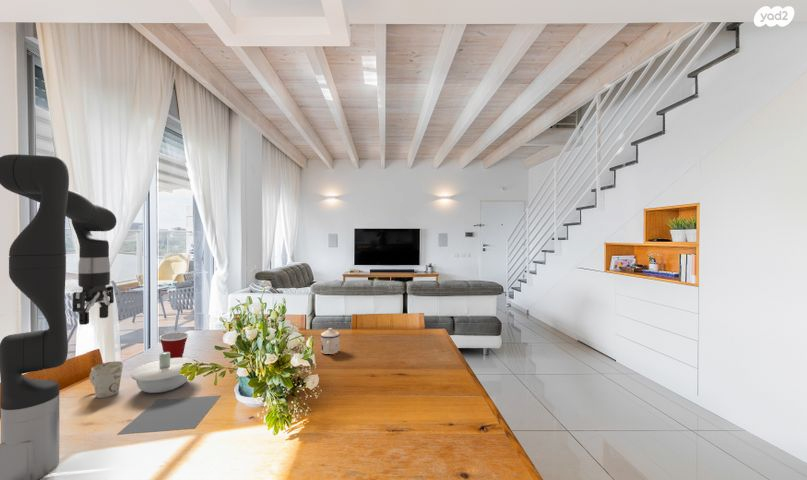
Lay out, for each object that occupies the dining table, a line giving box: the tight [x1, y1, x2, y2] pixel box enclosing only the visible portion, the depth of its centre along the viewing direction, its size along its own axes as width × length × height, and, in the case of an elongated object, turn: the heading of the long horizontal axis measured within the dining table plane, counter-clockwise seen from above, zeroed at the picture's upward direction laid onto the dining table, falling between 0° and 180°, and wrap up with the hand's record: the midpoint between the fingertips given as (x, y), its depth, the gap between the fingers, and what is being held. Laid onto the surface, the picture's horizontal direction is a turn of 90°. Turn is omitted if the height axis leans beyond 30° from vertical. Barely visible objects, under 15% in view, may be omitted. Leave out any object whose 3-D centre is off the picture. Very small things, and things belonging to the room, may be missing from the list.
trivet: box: [116, 395, 221, 435], centre depth 105 cm, size 20×20×1 cm
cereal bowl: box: [135, 375, 189, 394], centre depth 122 cm, size 17×17×7 cm
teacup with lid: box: [320, 327, 341, 354], centre depth 160 cm, size 12×9×12 cm
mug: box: [88, 360, 124, 399], centre depth 118 cm, size 8×13×10 cm, turn 79°
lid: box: [130, 351, 194, 381], centre depth 122 cm, size 19×19×6 cm
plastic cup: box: [159, 331, 190, 358], centre depth 147 cm, size 11×11×12 cm
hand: (94, 320), depth 108 cm, fingers open, 8 cm apart
